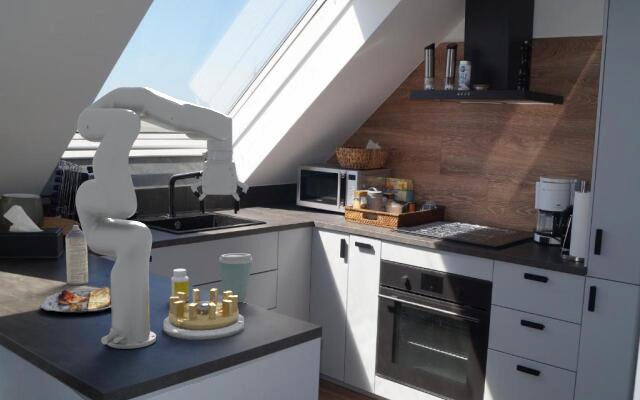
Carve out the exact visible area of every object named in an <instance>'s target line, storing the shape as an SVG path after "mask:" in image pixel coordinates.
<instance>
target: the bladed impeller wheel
mask: <svg viewBox="0 0 640 400" xmlns="http://www.w3.org/2000/svg"><path fill="white" fill-rule="evenodd" d="M200 291H201V290H199V289H198V288H194V289H192V302H189V303H187V301H186V293H184V292H178V293H176V297H171V296H170V297H169V311H168V316H169V323H170V324H171V325H173V326H175V327H178V328H182V329H189V330H211V329H218V328H223V327H227V326H230V325H233V324H234V323H236V322H237V321H238V320H239V314H240V311H239V307H238V304H239V303H238V295H236V296H233V292H232V291H226V292H223V291H222V301H221V302H220V301H218V300H219V299H218V298H219V297H218V288H211V289H210V290H209V300H201V292H200Z"/></svg>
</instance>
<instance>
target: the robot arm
mask: <svg viewBox="0 0 640 400" xmlns="http://www.w3.org/2000/svg"><path fill="white" fill-rule="evenodd" d="M142 122H145V123H148V124H151V125H154V126H156V127H158V128H162V129H164V130H166V131H167V130H168V131H170V132H171V131H172V132H177V133H179V132H180V133H184V134H185V136H186V137H188V139H190V140H193V141H206V151H204V152H201V156H202V158H205V159H206V160H205V161H204V162H203V167H202V175H201V177H202V178H201V180H199V181H197V182H195V183H193V184H191V185H190V189H191V191H192V192H193V195H194V196H195V197H196V198H197V199H198V200H199V210H200V212H201V214H202V215H203V214H205V213H206V212H207V209H206V208H207V207H206V204H207V202H206V199H205V197H206V196H208V195H210V196H211V195H212V196H214V195H215V196H216V195H217V196H232V197H233V198H234V201H233V202H234V203H233V204H234V205H233V210H234V211H233V213H234V214H235V215H237V214H238V212H240V205H241V203H240V202H241V201H240V200H241V199H242V198H243V197H245V196H246V194H247V191H248V190H249V188H250V187H249V184H245V183H244V182H242V181H240V180H238V177H237V169H236V163H235V161H234V160H233V119H232V117H231V116H230V115H226V114H224V113H222V112H220V111H218V110H216V109H213V108H209V107H207V106H206V107H205V106H202V105H198V104H193V103H191V102H187V101H182V100H178V99H176V98H173V97H172V96H168V95H167V94H164V93H161V92H159V91H156V90H154V89H152V88H149V87H144V86H122V87H121V86H120V87H117V88H115V89H112V90H111V91H109V92H107V93H105V95H102V96H101V97H100V98H98V99H97V100H96V101H94V102H93V103H91V104H90V105H89V106H87V107H86V108H84V109H83V110H82V111H81V112H80V114H79V116H78V119H77V121H76V127H77V129H76V130H77V131H78V133H79V135H80V137H81V138H83V140H86V141H87V142H90V143H92V142H93V143H99V144H98V147H97V148H96V149H95V150H96V151H95V153H94V155H93V159H92V171H93V176H94V178H93V179H88V180H85V181H83V182H82V183H81V185H80V186H79V187H78V189H77V191H76V195H75V207H76V212H77V215H78V219H79V222H80V227H81V229H82V230H81V231H83V233H84V237H85V240H86V242H87V247H88V248H89V249H90V251H92V252H93V253H95V254H98V255H101V256H102V255H103V256H111V257H115V258H116V261H115V263H114V264H113V266H112V269H111V271H110V276H109V277H110V290H111V307H110V309H111V327H110V328H109V329H110V330H109V333H108V334H107V335H105V336H103V337H101V340H100V341H101V343H102V344H103V345H107V346H109V347H111V348H114V349H122V350H125V349H126V350H129V349H130V350H131V349H138V348H144V347H148V346H151V345H152V344H154V343H155V342H156V341H157V334H156V333H155V332H153V331H152V330H151V315H150V313H151V311H150V310H151V309H150V308H151V307H150V305H151V304H150V273H149V272H150V255H151V251H152V246H153V245H152V244H153V235H152V231H151V230H150V228H149V227H148V226H147V225H146V224H145V223H142V222H140V221H136V220H128V219H129V218H131V217H132V216H134V215H135V213H136V211H137V208H138V202H137V201H138V200H137V195H136V194H137V193H136V191H135V186H134V184H133V179H132V176H131V175H132V174H131V171H130V170H131V169H130V165H129V157H130V152H131V150H132V148H133V145H134V143H135V142H136V140H137V138H138V137H139V135H140V132H141V128H142ZM238 186H239V187H240V188H242V191H241V192H240V193H239V194H238V192H237V190H238ZM198 187H201V189H202V194H201V193H200V192H199V191H198V189H197V188H198Z"/></svg>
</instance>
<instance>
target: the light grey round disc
mask: <svg viewBox="0 0 640 400" xmlns="http://www.w3.org/2000/svg"><path fill="white" fill-rule="evenodd" d="M243 329H245V317H244V316H243V315H242V314H240V313H239V320H238V321H237V322H236V323H234V324H233V325H230V326H227V327H223V328H218V329H211V330H189V329H182V328H178V327H175V326H173V325H171V324H170V323H169V315H168V316H167V317H165V318H164V320H163V332H164V333H165V334H166V335H168V336H171V337H172V338H177V339H182V340H188V341H189V340H193V341H205V340H207V341H209V340H217V339H225V338H227V337H230V336H234V335H237V334H238V333H239V334H240V332H241V331H243Z"/></svg>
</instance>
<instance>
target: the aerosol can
mask: <svg viewBox="0 0 640 400" xmlns="http://www.w3.org/2000/svg"><path fill="white" fill-rule="evenodd" d="M81 229H82V228H79V225H78V224H76V225H72V229H70V230H69V231H68V233H66V234H65V261H66V265H65V266H66V284H67V285H68V286H85V285H88V283H89V270H88V269H89V267H88V265H89V263H88V245H87V242H86V240H85V237H84V233H83V230H81Z"/></svg>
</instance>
